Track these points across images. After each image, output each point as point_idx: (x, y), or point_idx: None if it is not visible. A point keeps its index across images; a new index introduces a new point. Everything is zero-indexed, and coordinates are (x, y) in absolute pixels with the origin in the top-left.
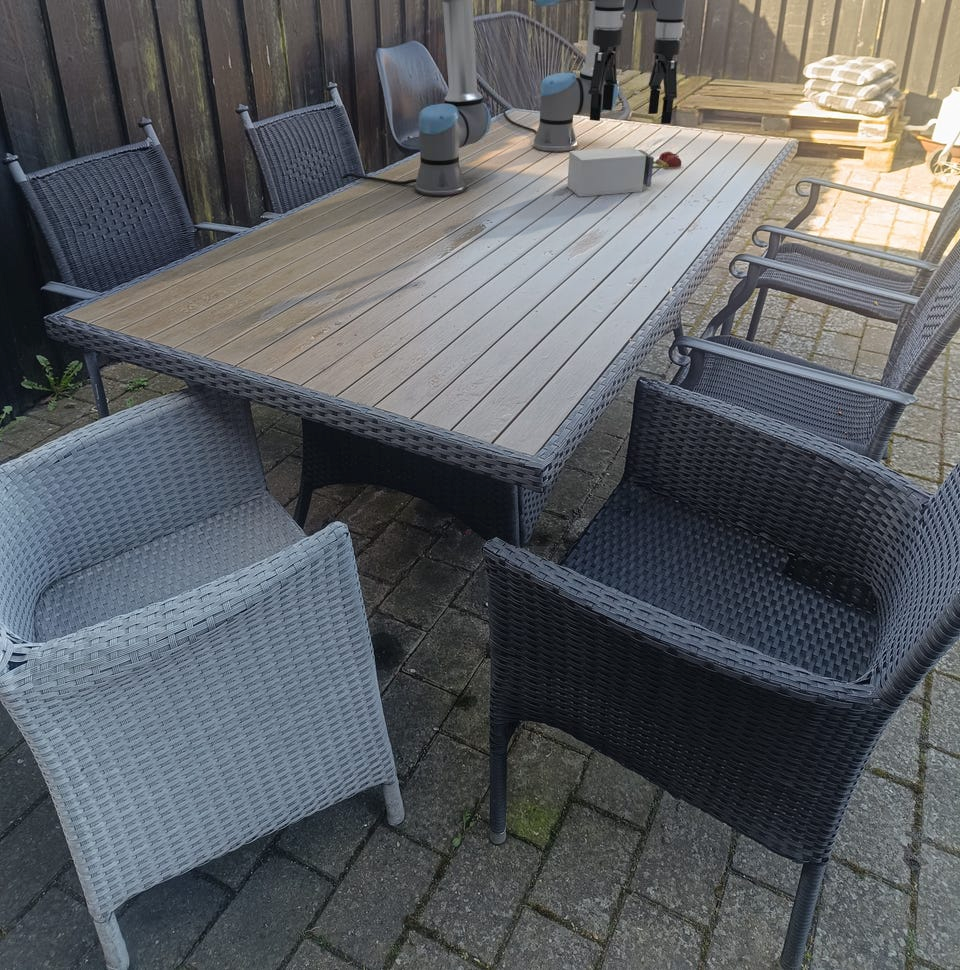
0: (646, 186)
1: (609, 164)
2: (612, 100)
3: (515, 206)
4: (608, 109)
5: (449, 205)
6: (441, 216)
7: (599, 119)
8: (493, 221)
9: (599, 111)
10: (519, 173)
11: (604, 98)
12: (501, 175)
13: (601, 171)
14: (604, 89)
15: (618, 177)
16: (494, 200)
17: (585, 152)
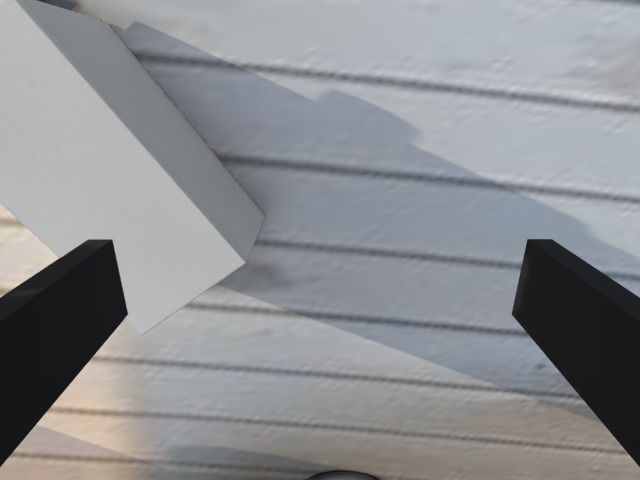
0: (73, 6)
1: (167, 156)
2: (49, 277)
3: (412, 344)
4: (114, 267)
5: (447, 464)
6: (527, 454)
7: (556, 243)
8: (543, 355)
9: (602, 279)
10: (132, 413)
11: (72, 362)
12: (172, 442)
13: (199, 178)
14: (9, 444)
15: (155, 112)
16: (380, 399)
17: (126, 278)
